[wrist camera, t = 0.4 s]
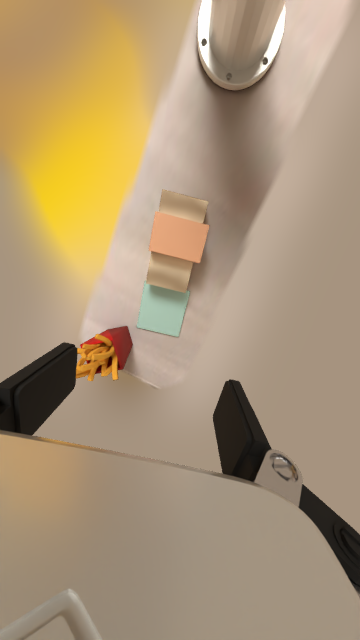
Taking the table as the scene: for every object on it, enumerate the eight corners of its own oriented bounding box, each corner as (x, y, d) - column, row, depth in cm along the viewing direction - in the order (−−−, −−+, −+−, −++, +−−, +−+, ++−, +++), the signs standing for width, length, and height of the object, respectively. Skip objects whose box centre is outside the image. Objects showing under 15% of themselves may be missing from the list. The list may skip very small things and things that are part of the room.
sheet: (165, 197, 33) (162, 189, 29) (205, 208, 34) (208, 201, 30) (149, 281, 38) (145, 283, 34) (185, 290, 38) (185, 293, 34)
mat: (145, 280, 38) (144, 280, 38) (190, 291, 38) (190, 291, 38) (137, 326, 41) (136, 327, 41) (178, 336, 42) (178, 337, 41)
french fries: (137, 347, 43) (113, 388, 28) (105, 352, 43) (66, 395, 29) (127, 312, 40) (95, 339, 26) (93, 319, 41) (44, 348, 27)
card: (157, 215, 31) (155, 211, 28) (207, 228, 31) (209, 225, 29) (151, 251, 32) (148, 250, 30) (198, 263, 33) (199, 263, 30)
